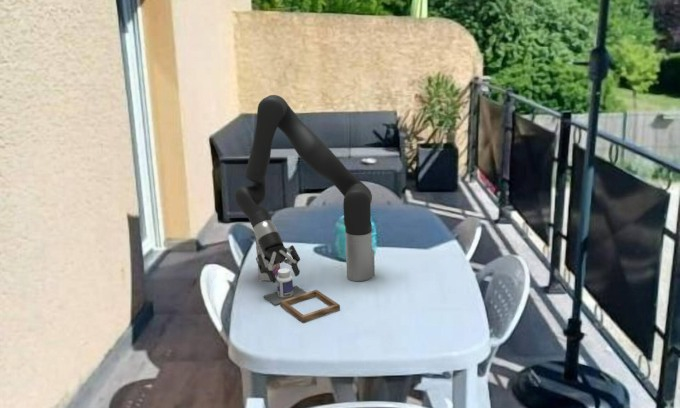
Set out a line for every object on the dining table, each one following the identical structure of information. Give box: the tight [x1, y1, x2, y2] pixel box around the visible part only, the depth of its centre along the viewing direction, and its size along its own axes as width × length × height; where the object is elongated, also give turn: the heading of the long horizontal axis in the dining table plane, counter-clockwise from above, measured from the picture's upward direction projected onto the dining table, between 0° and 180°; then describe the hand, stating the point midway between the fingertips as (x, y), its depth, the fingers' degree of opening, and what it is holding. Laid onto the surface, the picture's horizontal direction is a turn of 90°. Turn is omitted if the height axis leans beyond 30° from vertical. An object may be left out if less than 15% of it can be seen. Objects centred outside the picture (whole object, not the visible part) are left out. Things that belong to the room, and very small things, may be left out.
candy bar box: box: [255, 227, 281, 282], centre depth 232 cm, size 11×5×16 cm, turn 168°
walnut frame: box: [280, 289, 341, 324], centre depth 208 cm, size 14×14×2 cm
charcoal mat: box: [262, 285, 307, 307], centre depth 217 cm, size 13×8×1 cm, turn 124°
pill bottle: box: [276, 267, 294, 298], centre depth 216 cm, size 5×5×9 cm
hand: (286, 278), depth 214 cm, fingers open, 8 cm apart
